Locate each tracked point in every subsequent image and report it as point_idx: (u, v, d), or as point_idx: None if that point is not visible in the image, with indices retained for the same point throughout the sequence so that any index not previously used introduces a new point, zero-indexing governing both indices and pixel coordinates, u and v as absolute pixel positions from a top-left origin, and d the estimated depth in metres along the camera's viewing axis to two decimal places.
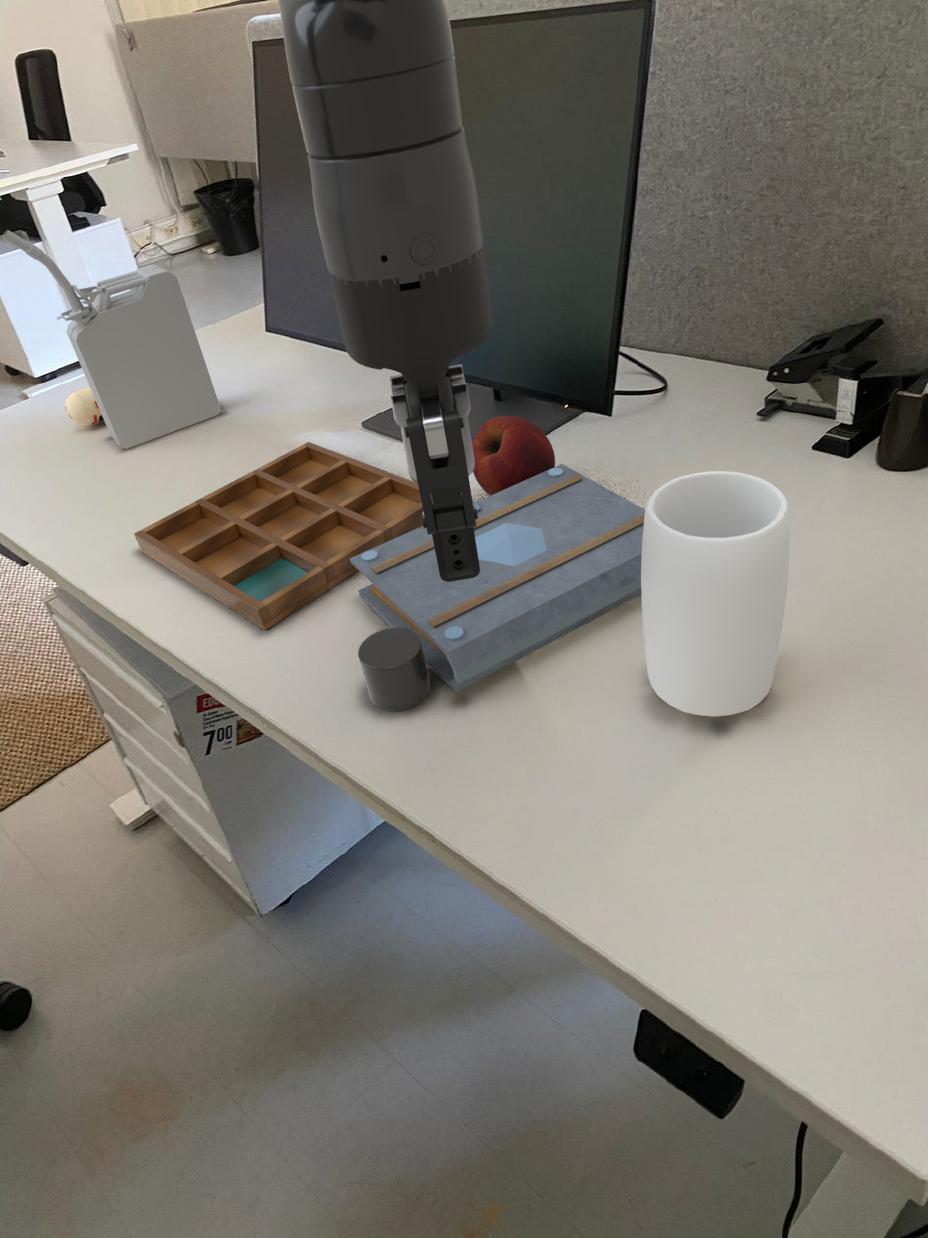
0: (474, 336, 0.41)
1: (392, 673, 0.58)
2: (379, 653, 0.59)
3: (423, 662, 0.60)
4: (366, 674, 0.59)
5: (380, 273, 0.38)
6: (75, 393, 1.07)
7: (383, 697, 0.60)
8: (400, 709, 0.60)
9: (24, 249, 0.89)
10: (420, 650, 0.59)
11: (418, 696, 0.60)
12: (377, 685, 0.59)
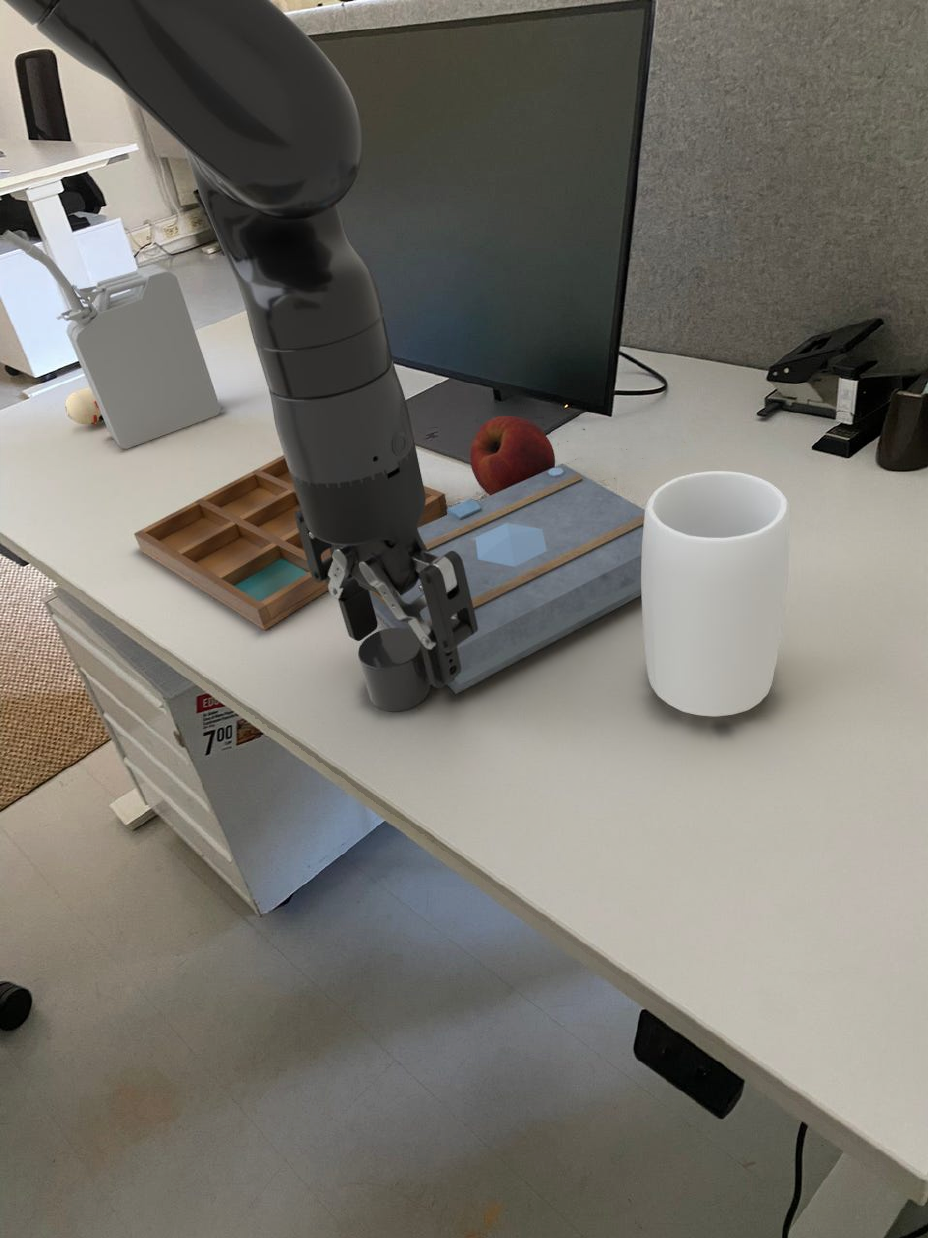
0: (424, 494, 0.53)
1: (392, 673, 0.58)
2: (379, 653, 0.59)
3: (423, 662, 0.60)
4: (366, 674, 0.59)
5: (373, 470, 0.48)
6: (75, 393, 1.07)
7: (383, 697, 0.60)
8: (400, 709, 0.60)
9: (24, 249, 0.89)
10: (420, 650, 0.59)
11: (418, 696, 0.60)
12: (377, 685, 0.59)
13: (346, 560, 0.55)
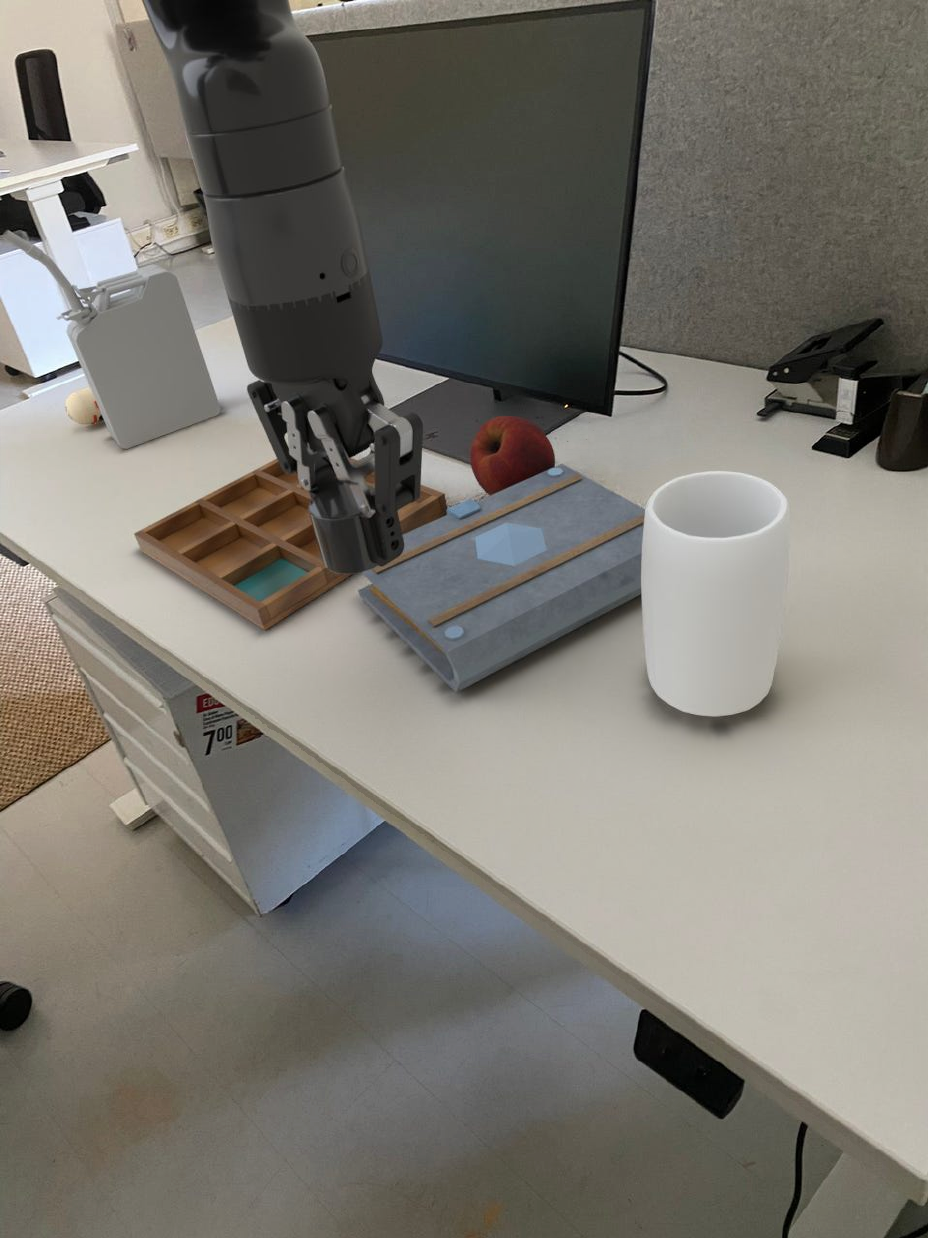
0: (380, 336, 0.47)
1: (345, 524, 0.52)
2: (331, 506, 0.53)
3: None
4: (317, 529, 0.53)
5: (319, 290, 0.43)
6: (75, 393, 1.07)
7: (335, 556, 0.53)
8: (355, 571, 0.54)
9: (24, 249, 0.89)
10: None
11: None
12: (329, 541, 0.53)
13: (293, 410, 0.49)
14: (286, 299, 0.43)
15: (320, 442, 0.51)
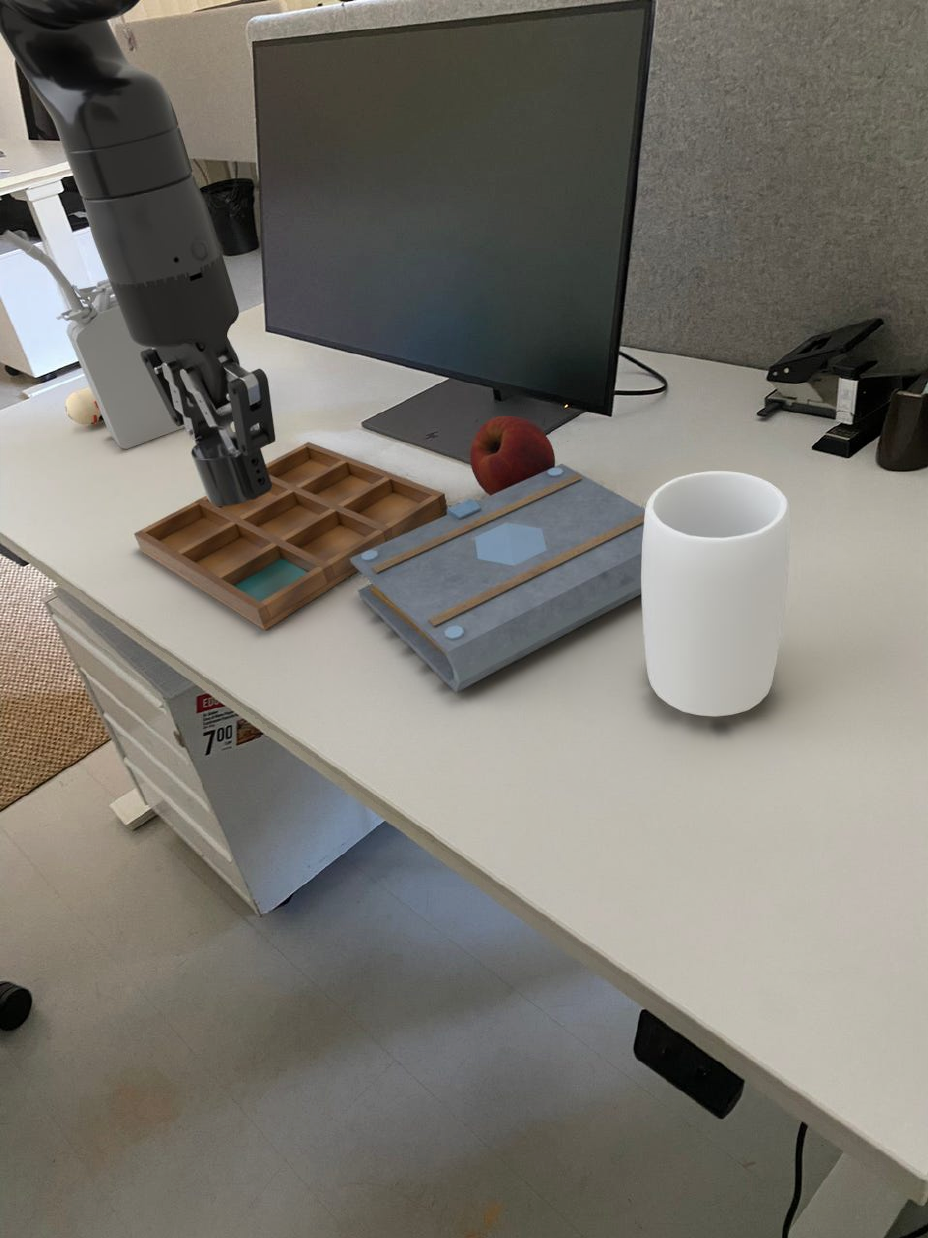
0: (235, 308, 0.59)
1: (218, 463, 0.64)
2: (209, 449, 0.65)
3: None
4: (198, 468, 0.65)
5: (174, 271, 0.55)
6: (75, 393, 1.07)
7: (214, 491, 0.65)
8: (231, 503, 0.66)
9: (24, 249, 0.89)
10: None
11: None
12: (208, 478, 0.65)
13: (170, 369, 0.61)
14: (148, 278, 0.55)
15: (195, 396, 0.63)
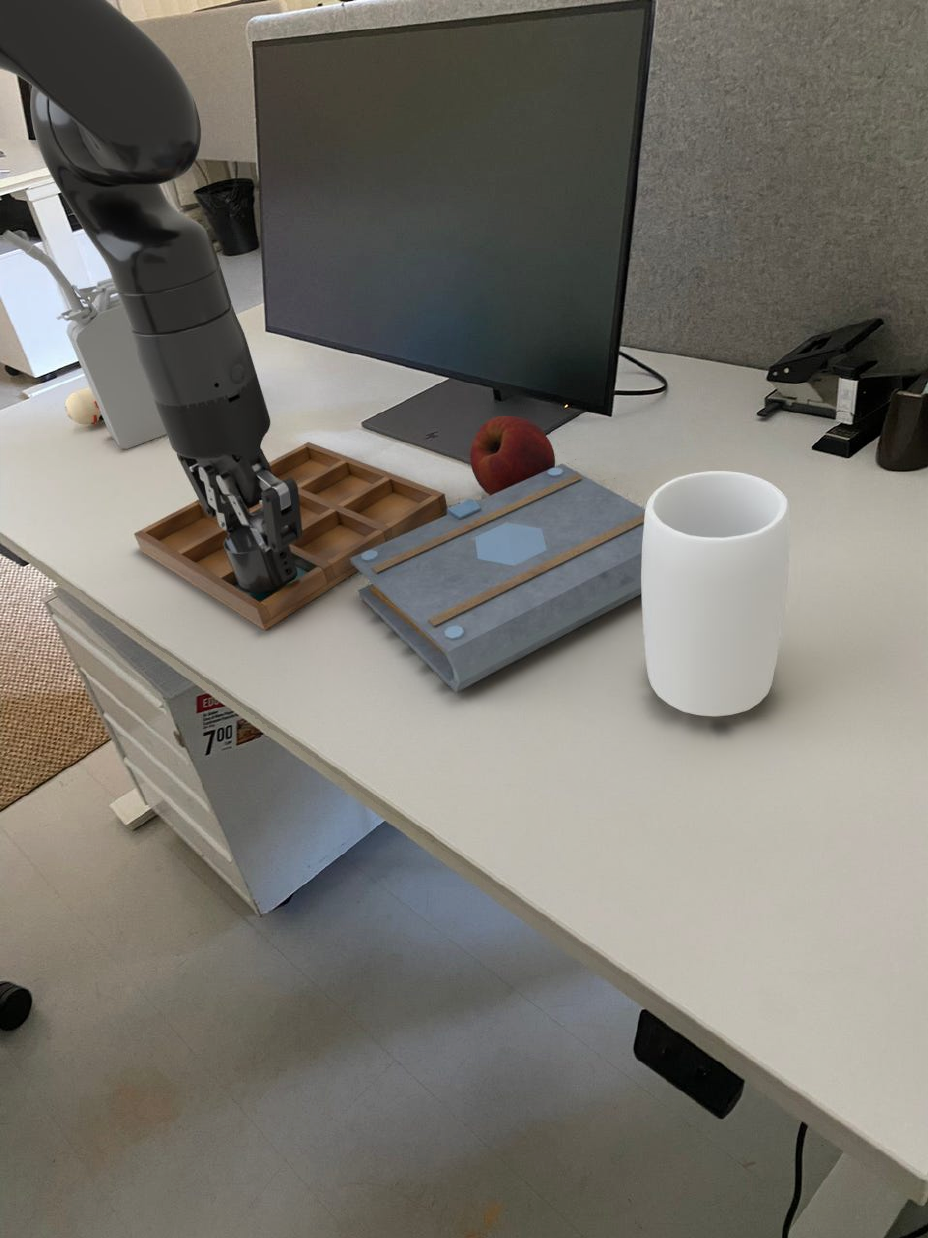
0: (267, 420, 0.65)
1: (249, 556, 0.69)
2: (240, 542, 0.70)
3: None
4: (230, 560, 0.70)
5: (215, 394, 0.60)
6: (75, 393, 1.07)
7: (244, 580, 0.71)
8: (260, 591, 0.71)
9: (24, 249, 0.89)
10: None
11: None
12: (239, 569, 0.70)
13: (206, 473, 0.66)
14: (191, 401, 0.60)
15: None
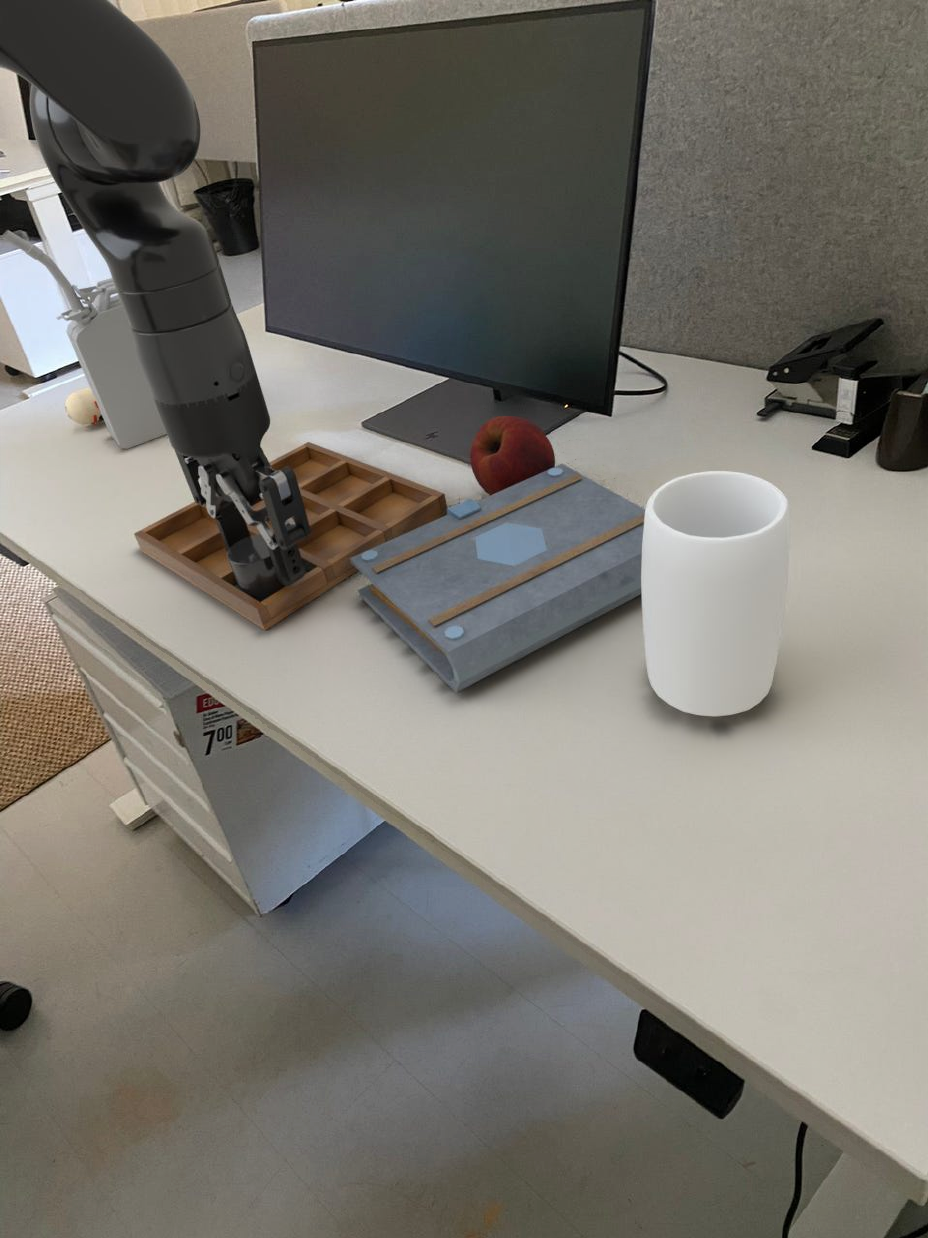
0: (267, 419, 0.64)
1: (253, 567, 0.70)
2: (244, 553, 0.71)
3: None
4: (233, 570, 0.71)
5: (215, 393, 0.60)
6: (75, 393, 1.07)
7: (248, 590, 0.71)
8: None
9: (24, 249, 0.89)
10: None
11: (278, 590, 0.72)
12: (242, 579, 0.71)
13: (207, 474, 0.66)
14: (191, 400, 0.60)
15: None
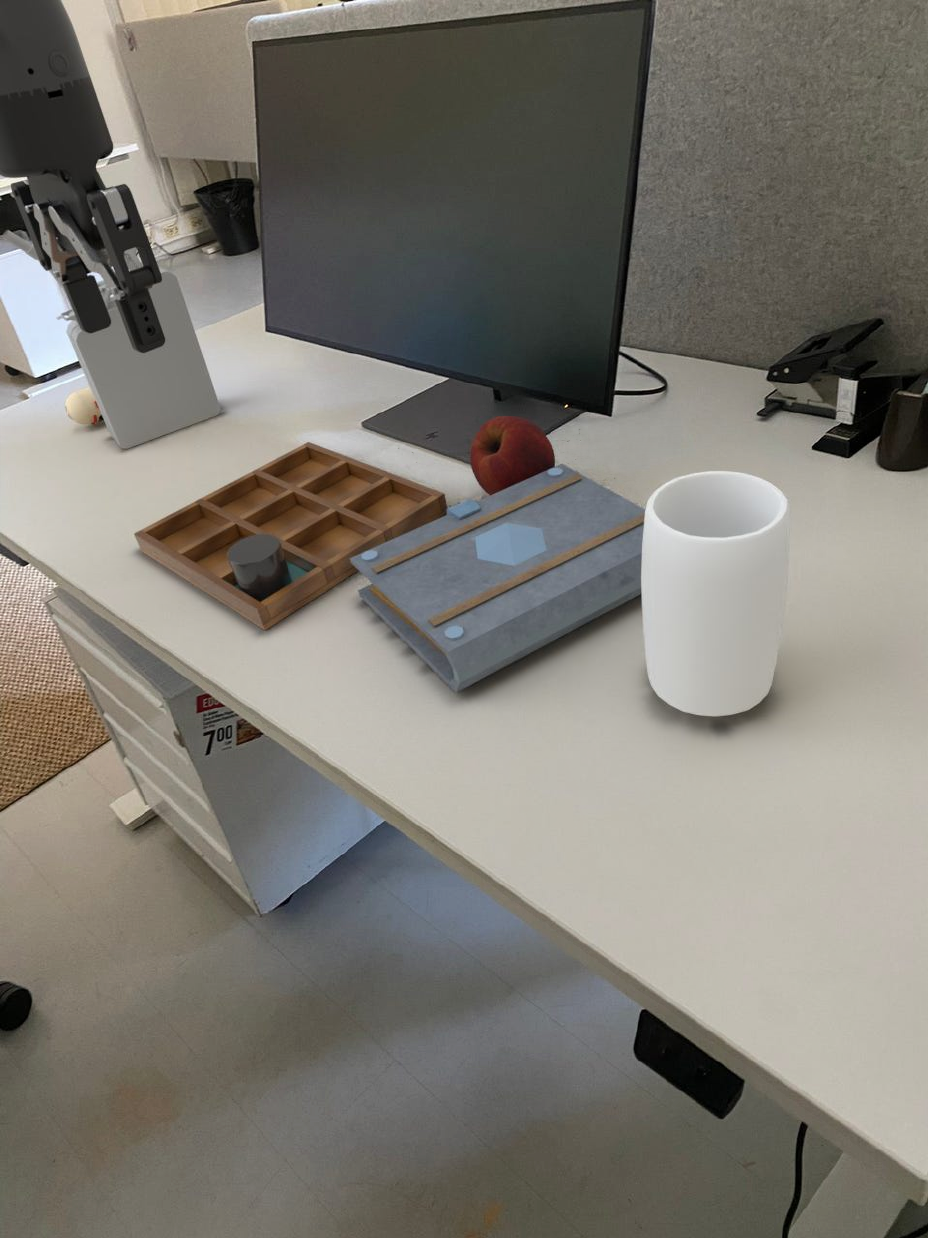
0: (107, 140, 0.55)
1: (253, 567, 0.70)
2: (244, 553, 0.71)
3: (282, 561, 0.71)
4: (233, 570, 0.71)
5: (30, 84, 0.51)
6: (75, 393, 1.07)
7: (248, 590, 0.71)
8: None
9: (24, 249, 0.89)
10: (278, 550, 0.71)
11: (278, 590, 0.72)
12: (242, 579, 0.71)
13: (42, 213, 0.57)
14: (1, 91, 0.51)
15: (70, 243, 0.59)
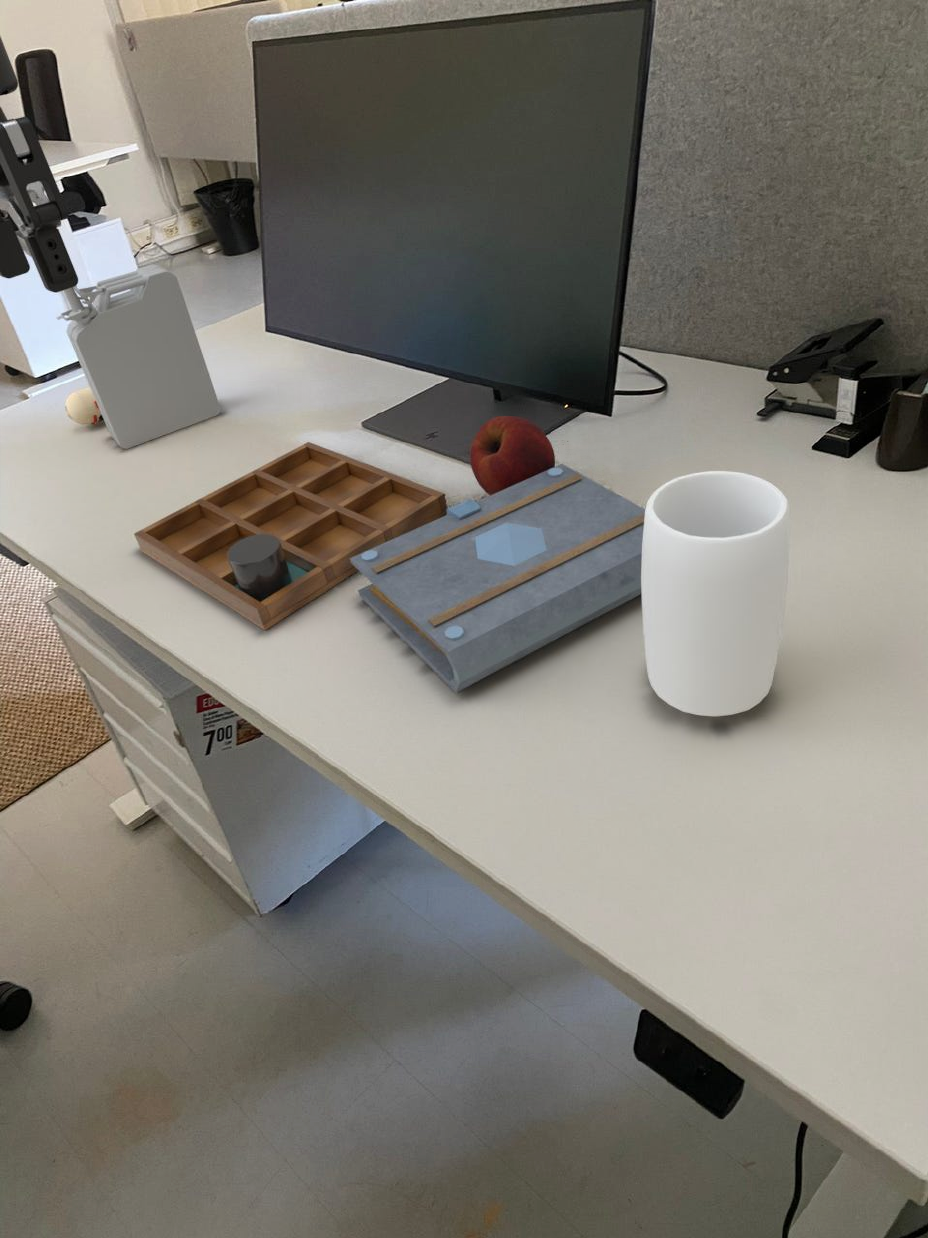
0: (9, 75, 0.56)
1: (253, 567, 0.70)
2: (244, 553, 0.71)
3: (282, 561, 0.71)
4: (233, 570, 0.71)
5: None
6: (75, 393, 1.07)
7: (248, 590, 0.71)
8: None
9: (24, 249, 0.89)
10: (278, 550, 0.71)
11: (278, 590, 0.72)
12: (242, 579, 0.71)
13: None
14: None
15: None
